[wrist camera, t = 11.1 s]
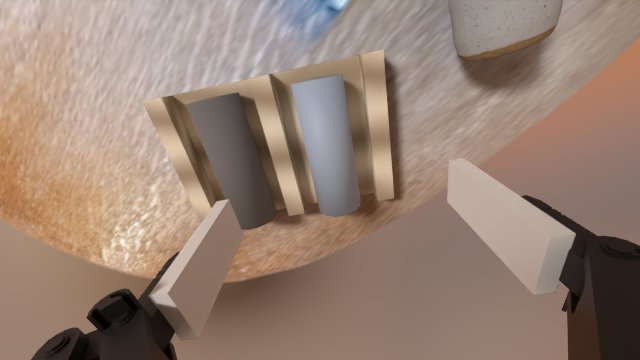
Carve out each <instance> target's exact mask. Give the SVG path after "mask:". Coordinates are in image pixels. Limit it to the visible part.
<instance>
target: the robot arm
mask: <svg viewBox="0 0 640 360" xmlns="http://www.w3.org/2000/svg"><path fill="white" fill-rule="evenodd" d="M447 202H448V203H449V204H450V205H451V206H452V207H453V208H454V209H455V210H456V211H457V212H458V213H459V214H460V216H461V217H462V218H463V219H464V220H465V221H466V222H467V223H468V224H469V226H470V227H471V228H472V229H473V230H474V231H475V232H476V233H477V234H478V235H479V236H480V238H481V239H482V240H483V241H484V242H485V243H486V244H487V245H488V246H489V247H490V248H491V250H492V251H493V252H494V253H495V254H496V255H497V256H498V257H499V258H500V259H501V260H502V261H503V262H504V263H505V265H506V266H507V267H508V268H509V269H510V270H511V271H512V272H513V274H514V275H515V276H516V277H517V278H518V279H519V280H520V281H521V282H522V283H523V284H524V285H525V287H526V288H527V289H528V290H529V291H530V292H531V293H532V294H533V295H540V294H548V293H555V292H556V290H557V287H558V284H559V281H561V282H562V283H563V284H564V285H565V286H566V287H567V288H569V292H568V295H567V297H566V300H565V303H564V305H563V308H562V311H565V312H566V310H567V319H568V320H567V321H568V360H640V246H639V245H636V244H634V243H632V242H629V241H627V240H623V239H619V238H616V237H609V236H596V235H595V234H593V233H592V232H590V231H589V230H587V229H585V228H584V227H582V226H580V225H579V224H577V223H576V222H574V221H573V220H571V219H569V218H568V217H566V216H565V215H562V214H561V213H560V212H558V211H557V210H555V209H552V207H550V206H549V205H547V204H546V203H544V202H542V201H541V200H538V199H535V198H532V197H529V196H527V195H526V196H519V195H518V194H516V193H515V192H513V191H512V190H510V189H509V188H507V187H505V186H504V185H502V184H501V183H500V182H498V181H497V180H495V179H494V178H492V177H491V176H489V175H487V174H486V173H485V172H483V171H481V170H480V169H479V168H477V167H476V166H474V165H473V164H471V163H470V162H468V161H467V160H465V159H464V158H460V159H455V160H449V176H448V197H447ZM243 235H244V234H243V232H242V229H241V227H240V225H239V222H238V220H237V218H236V215H235V213H234V210H233V208H232V206H231V203H230V201H229V199H227V200H221V201H217V202H216V203H215V205H214V206H213V207H212V209H211V210H210V211H209V213H208V214H207V216H206V217H205V218H204V220H203V221H202V223H201V224H200V225H199V227H198V228H197V229H196V231H195V232H194V234H193V235H192V236H191V238H190V239H189V240H188V242H187V243H186V245H185V246H184V247H183V249H182V250H181V252H177V253H176V254H175V255H173V256H172V257H171V258H170V259H169V260H168V261H167V262H166V263H165V265H164V266H163V267H162V269H161V271H159V273H158V274H157V275H156V278H154V279H153V281H152V282H151V283H150V285H149V286H148V287H147V289H146V290H145V291H144V293H143V294H142V295H141V297H140V298H139V299H138V300H137V299H136V297H135V296H134V295H133V294H132V293H131V291H130V290H129V289H121V290H117V291H115V292H113V293H111V294H109V295H107V296H106V297H104V298H103V299H101V300H100V301H99V302H98V303H97V304H96V305H94V307H93V308H92V309H91V310H90V312H89V313H88V316H87V319H88V320H89V321H90V322H91V323H92V324H93V325H94V326H95V327H96V328H97V329H98V330H95V331H93V332H90V333H88V334H84V333H83V332H82V331H81V330H80V329H78V328H70V329H67V330H65V331H63V332H61V333H59V334H57V335H55V336H54V337H52V338H51V339H50V340H48V341H47V342H46V343H45V344H44V345H43V346H42V347H41V348H40V349H39V350H38V351H37V352H36V354H35V355H34V357H33V358H32V359H31V360H177V357H176V353H175V349H174V346H173V345H172V343H171V342H170V340H171V338H172V337H173V335H174V333H176V334H177V335H178V337H179V338H180V339H181V340H182V341H183V340H190V339H198V338H199V337H200V334H201V332H202V330H203V328H204V325H205V323H206V321H207V318H208V316H209V314H210V311H211V309H212V307H213V304H214V302H215V300H216V297H217V295H218V293H219V290H220V288H221V286H222V284H223V281H224V279H225V277H226V274H227V272H228V270H229V267H230V265H231V263H232V260H233V258H234V256H235V253H236V251H237V249H238V246H239V244H240V242H241V239H242V237H243Z"/></svg>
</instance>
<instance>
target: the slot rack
mask: <svg viewBox="0 0 640 360" xmlns="http://www.w3.org/2000/svg"><path fill="white" fill-rule="evenodd" d="M335 74H343V79H344V86H345V93H346V100H347V107H348V115H349V122H350V129H351V136H352V143H353V150H354V157H355V164H356V171H357V178H358V185H359V192H360V196H361V195H367V194H372V193H374V194H375V196H376V199H377V201H381V200H387V199H393V198H394V188H393V174H392V161H391V147H390V133H389V119H388V106H387V92H386V78H385V64H384V51H383V50H380V51H375V52H371V53H366V54H361V55H358V56H353V57H349V58H344V59H339V60H335V61H330V62H325V63H321V64H316V65H312V66H307V67H302V68H298V69H293V70H288V71H284V72H279V73H275V74H269V75H264V76H260V77H255V78H250V79H247V80H242V81H238V82H233V83H228V84H224V85H219V86H214V87H210V88H205V89H201V90H196V91H191V92H187V93H182V94H177V95H173V96H168V97H163V98H158V99H153V100H149V101H144V102H143V104H144V106H145V108H146V110H147V112H148V114H149V116H150V118H151V120H152V122H153V124H154V126H155V128H156V131H157V133H158V135H159V137H160V139H161V141H162V143H163V145H164V147H165V149H166V151H167V153H168V155H169V157H170V159H171V161H172V163H173V165H174V167H175V169H176V172H177V174H178V176H179V178H180V180H181V182H182V184H183V186H184V188H185V190H186V192H187V194H188V196H189V198H190V200H191V202H192V204H193V206H194V208H195V210H196V213H197V215H198V217H199V219H200V221H201V223H202V221H203V220H204V218H205V217H206V216H207V214H208V213H209V211H210V210H211V209H212V207H213V206H214V205H215V203H216V202H217V201H221V200H225V197H224V195H223V192H222V190H221V188H220V185H219V183H218V180H217V178H216V176H215V173H214V171H213V168H212V166H211V164H210V161H209V159H208V156H207V154H206V152H205V149H204V147H203V144H202V142H201V140H200V137H199V135H198V132H197V130H196V128H195V125H194V123H193V120H192V118H191V116H190V113H189V111H188V108H187V106H186V104H188V103H192V102H196V101H200V100H204V99H209V98H213V97H217V96H222V95H227V94H232V93H238V92H239V95H240V98H241V101H242V104H243V107H244V110H245V113H246V117H247V120H248V123H249V126H250V129H251V132H252V135H253V138H254V142H255V145H256V148H257V151H258V154H259V157H260V160H261V163H262V167H263V170H264V173H265V176H266V179H267V182H268V185H269V189H270V192H271V195H272V198H273V201H274V204H275V207H276V210H279V209H285V208H287V211H288V214H289V216H292V215H298V214H304V213H305V205H309V204H314V203H318V201H317V197H316V193H315V188H314V184H313V180H312V175H311V171H310V167H309V162H308V158H307V154H306V149H305V145H304V140H303V136H302V132H301V127H300V123H299V119H298V114H297V110H296V106H295V101H294V97H293V93H292V88H291V84H294V83H297V82H301V81H306V80H310V79H314V78H319V77H324V76H329V75H335Z"/></svg>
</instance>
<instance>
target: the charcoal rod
mask: <svg viewBox="0 0 640 360" xmlns="http://www.w3.org/2000/svg"><path fill="white" fill-rule="evenodd" d="M186 106H187V108H188V111H189V113H190V116H191V118H192V120H193V123H194V125H195V128H196V130H197V132H198V135H199V137H200V140H201V142H202V144H203V147H204V149H205V152H206V154H207V156H208V159H209V161H210V164H211V166H212V168H213V171H214V173H215V176H216V178H217V180H218V183H219V185H220V188H221V190H222V192H223V195H224V197H225V200H227V199H229V201H230V203H231V206H232V208H233V210H234V213H235V215H236V218H237V220H238V222H239V225H240V227H241V229H244V230H249V229H254V228H258V227H261V226H263V225H265V224H267V223H268V222H270V221H271V220H272V219H273V218H274V217H275V215H276V212H277V211H276V207H275V204H274V201H273V198H272V195H271V192H270V189H269V185H268V182H267V179H266V176H265V173H264V170H263V167H262V163H261V160H260V157H259V154H258V151H257V148H256V145H255V142H254V138H253V135H252V132H251V129H250V126H249V123H248V120H247V117H246V113H245V110H244V107H243V104H242V101H241V98H240V95H239V92H238V93H232V94H227V95H222V96H217V97H213V98H209V99H204V100H200V101H196V102H192V103H188V104H186Z"/></svg>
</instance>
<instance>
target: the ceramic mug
mask: <svg viewBox="0 0 640 360" xmlns="http://www.w3.org/2000/svg"><path fill="white" fill-rule="evenodd" d="M448 1H449V8H450V14H451V20H452V29H453V38H454V43H455V47H456V49H457V52H458V55H459V57H460V58H462V59H464V60H467V61H476V60H483V59H489V58H493V57H497V56H501V55H505V54H508V53H512V52H515V51H518V50H521V49H523V48H526V47H529V46H531V45H533V44H535V43H537V42H539V41H541V40H543V39H545V38H546V37H547V36H549V35H550V34H551V33H552V32H553V31H554V29H555V27H556V25H557V23H558V19H559V15H560V12H561V8H562V1H563V0H448Z"/></svg>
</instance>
